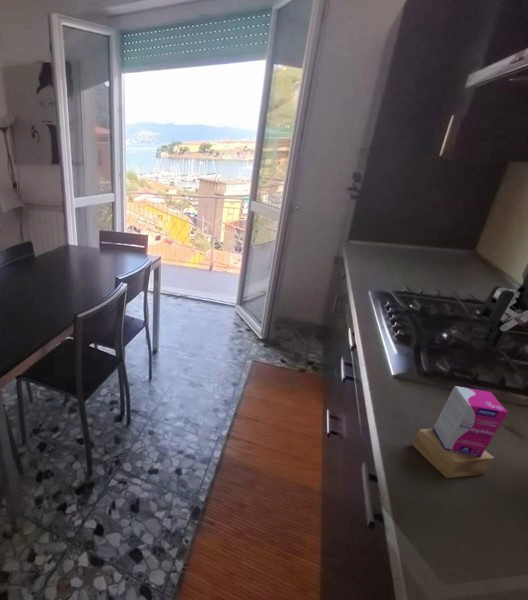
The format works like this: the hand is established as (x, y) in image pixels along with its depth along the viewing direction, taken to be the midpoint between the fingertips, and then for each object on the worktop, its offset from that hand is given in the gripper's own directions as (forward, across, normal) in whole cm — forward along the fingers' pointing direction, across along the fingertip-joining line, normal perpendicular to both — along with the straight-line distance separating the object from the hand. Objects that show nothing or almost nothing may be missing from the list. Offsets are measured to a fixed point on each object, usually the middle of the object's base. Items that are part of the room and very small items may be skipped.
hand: (521, 350), depth 57 cm
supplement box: (+24, 0, +3) cm, 24 cm away
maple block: (+28, 0, +3) cm, 28 cm away
